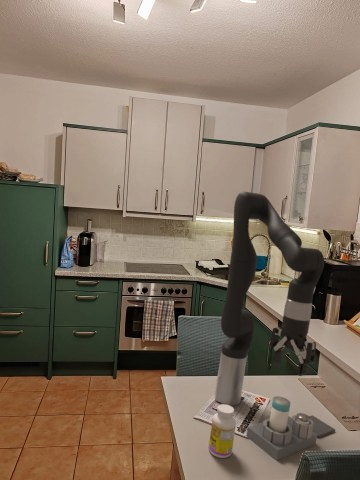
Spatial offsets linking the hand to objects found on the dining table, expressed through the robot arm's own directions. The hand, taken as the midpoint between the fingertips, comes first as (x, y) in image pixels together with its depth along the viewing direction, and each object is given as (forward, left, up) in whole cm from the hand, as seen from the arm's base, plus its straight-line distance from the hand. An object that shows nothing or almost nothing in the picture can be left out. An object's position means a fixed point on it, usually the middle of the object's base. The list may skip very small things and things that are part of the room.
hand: (288, 368), depth 111 cm
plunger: (+8, +4, -21) cm, 22 cm away
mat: (+15, +14, -24) cm, 31 cm away
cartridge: (-1, 0, -21) cm, 21 cm away
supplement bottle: (-17, -8, -24) cm, 31 cm away
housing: (+2, +3, -24) cm, 24 cm away
